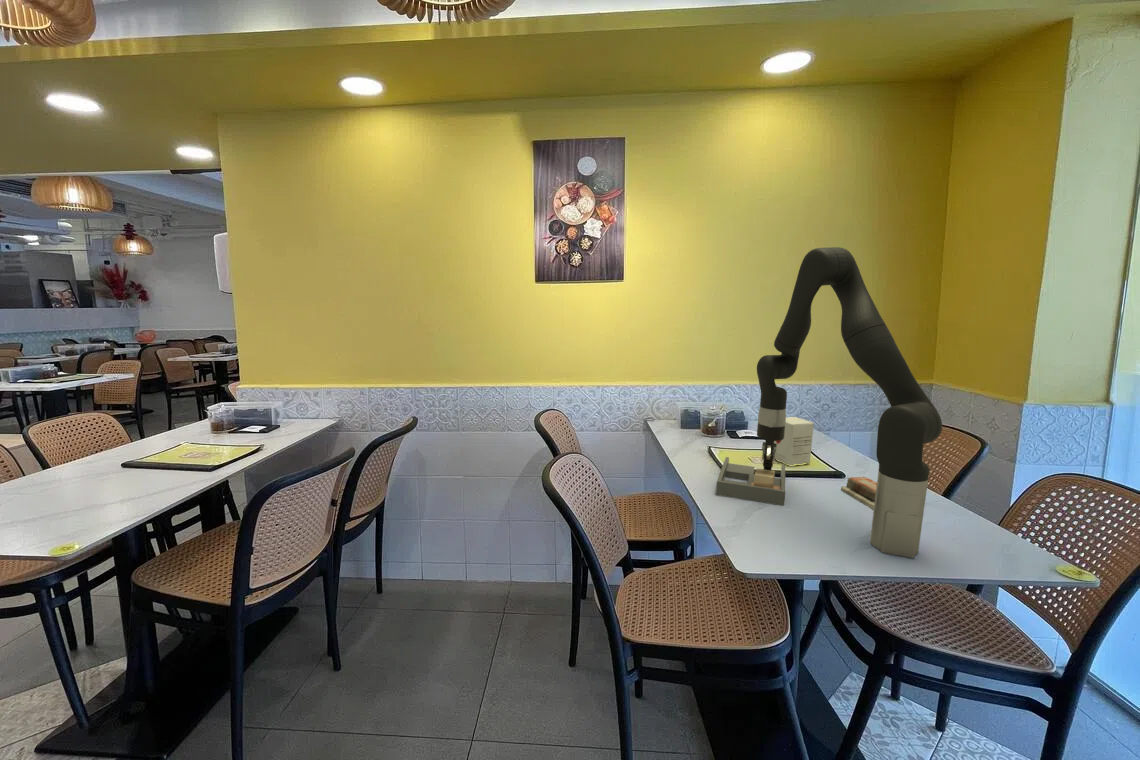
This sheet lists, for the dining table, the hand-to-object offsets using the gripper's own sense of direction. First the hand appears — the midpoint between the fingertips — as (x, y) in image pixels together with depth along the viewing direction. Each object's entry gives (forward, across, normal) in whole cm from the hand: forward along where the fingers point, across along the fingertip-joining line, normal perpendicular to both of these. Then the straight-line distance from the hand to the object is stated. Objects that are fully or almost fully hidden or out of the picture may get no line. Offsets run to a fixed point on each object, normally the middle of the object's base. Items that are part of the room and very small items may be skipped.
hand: (766, 478), depth 146 cm
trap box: (+3, +1, -4) cm, 5 cm away
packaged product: (+3, -1, +29) cm, 29 cm away
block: (0, +6, -1) cm, 6 cm away
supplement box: (+3, -28, +7) cm, 29 cm away
